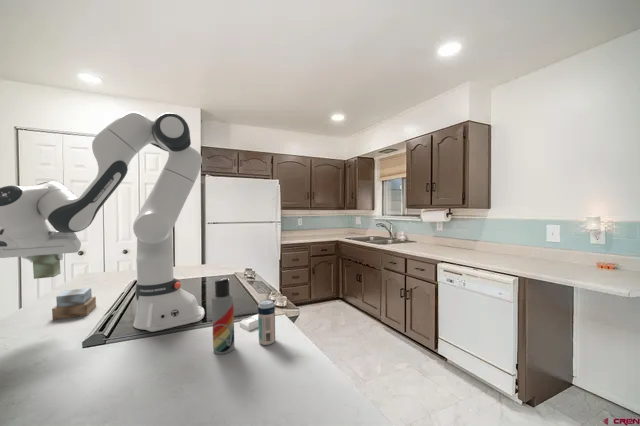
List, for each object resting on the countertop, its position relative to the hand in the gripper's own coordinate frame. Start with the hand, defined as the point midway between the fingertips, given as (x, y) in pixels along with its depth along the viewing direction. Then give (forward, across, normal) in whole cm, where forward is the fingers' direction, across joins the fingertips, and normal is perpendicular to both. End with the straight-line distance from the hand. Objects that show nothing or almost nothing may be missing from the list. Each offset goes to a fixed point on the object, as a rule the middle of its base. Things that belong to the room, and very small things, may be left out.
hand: (47, 259), depth 95 cm
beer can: (-12, -64, +45) cm, 79 cm away
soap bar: (-2, -63, +36) cm, 72 cm away
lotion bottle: (-11, -52, +45) cm, 69 cm away
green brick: (+3, 0, +4) cm, 5 cm away
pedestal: (+26, -2, +7) cm, 27 cm away
